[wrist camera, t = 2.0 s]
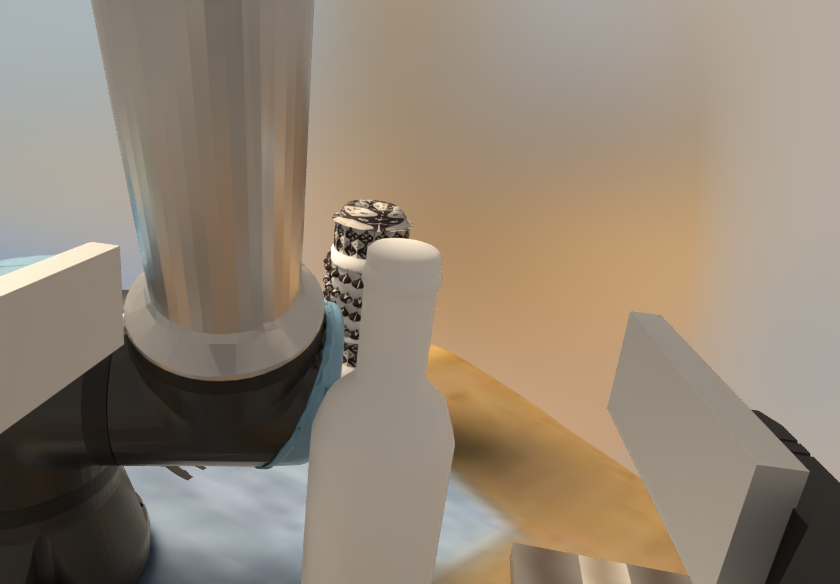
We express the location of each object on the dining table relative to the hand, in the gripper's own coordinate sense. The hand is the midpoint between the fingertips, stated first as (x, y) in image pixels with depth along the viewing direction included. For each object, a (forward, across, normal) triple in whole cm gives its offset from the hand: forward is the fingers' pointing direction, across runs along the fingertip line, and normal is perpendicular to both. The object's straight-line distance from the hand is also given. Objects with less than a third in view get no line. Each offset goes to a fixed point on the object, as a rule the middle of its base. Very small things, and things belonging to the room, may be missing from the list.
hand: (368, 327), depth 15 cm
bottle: (+14, 0, -31) cm, 34 cm away
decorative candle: (+45, -6, -30) cm, 54 cm away
